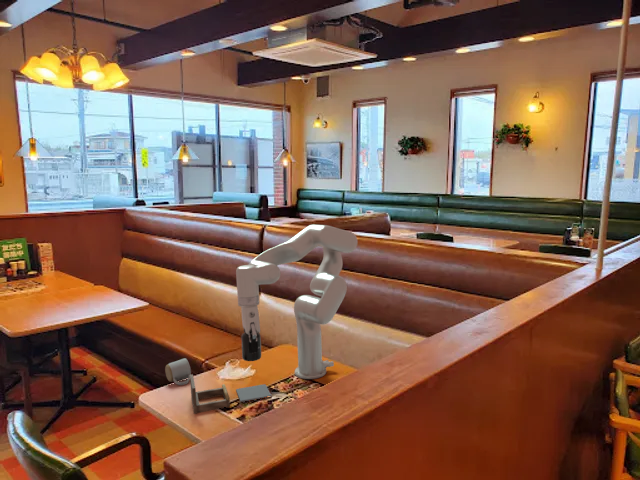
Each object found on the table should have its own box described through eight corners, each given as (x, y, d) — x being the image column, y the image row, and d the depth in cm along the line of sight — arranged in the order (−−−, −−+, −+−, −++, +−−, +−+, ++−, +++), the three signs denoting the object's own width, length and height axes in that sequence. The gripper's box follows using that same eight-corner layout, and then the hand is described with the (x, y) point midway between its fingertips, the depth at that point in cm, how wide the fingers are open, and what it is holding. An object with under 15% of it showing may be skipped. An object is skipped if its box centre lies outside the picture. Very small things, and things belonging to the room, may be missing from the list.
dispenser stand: (225, 392, 173) (224, 369, 172) (230, 407, 162) (228, 382, 161) (191, 398, 169) (189, 374, 168) (193, 414, 158) (192, 388, 157)
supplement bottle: (258, 362, 166) (256, 329, 164) (239, 361, 167) (237, 328, 166) (264, 354, 173) (262, 323, 171) (246, 354, 174) (244, 322, 172)
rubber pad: (265, 386, 178) (265, 384, 178) (271, 397, 169) (271, 395, 169) (236, 391, 175) (236, 389, 174) (240, 402, 165) (240, 400, 165)
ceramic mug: (164, 379, 187) (163, 360, 186) (184, 373, 192) (183, 355, 191) (174, 388, 179) (173, 369, 178) (195, 382, 184) (194, 363, 182)
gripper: (264, 305, 160) (267, 355, 163) (254, 293, 176) (257, 339, 179) (242, 307, 158) (245, 358, 160) (234, 295, 174) (237, 342, 176)
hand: (251, 348), depth 170 cm, fingers closed on supplement bottle, 6 cm apart
